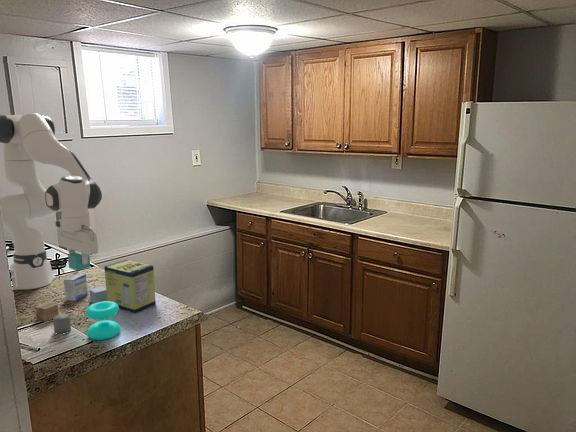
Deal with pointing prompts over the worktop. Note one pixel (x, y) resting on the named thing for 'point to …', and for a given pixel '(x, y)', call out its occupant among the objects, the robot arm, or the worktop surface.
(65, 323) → the charcoal cylinder
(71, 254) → the teal block
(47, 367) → the worktop surface
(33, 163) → the robot arm
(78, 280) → the medicine box
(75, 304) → the worktop surface
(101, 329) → the donuts
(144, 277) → the protein box
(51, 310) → the walnut block
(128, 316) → the worktop surface
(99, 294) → the slate blue block
